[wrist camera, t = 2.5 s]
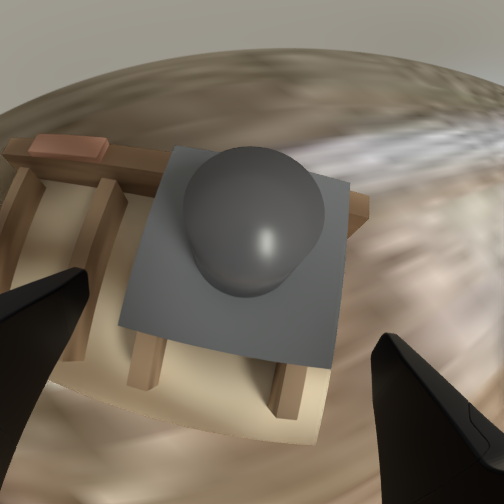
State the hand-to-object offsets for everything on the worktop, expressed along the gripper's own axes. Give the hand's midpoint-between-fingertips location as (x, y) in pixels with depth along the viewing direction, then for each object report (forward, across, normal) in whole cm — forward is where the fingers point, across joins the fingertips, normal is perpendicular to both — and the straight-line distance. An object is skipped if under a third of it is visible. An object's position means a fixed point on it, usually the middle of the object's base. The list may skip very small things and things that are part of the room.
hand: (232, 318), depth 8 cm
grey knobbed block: (+7, 0, +5) cm, 8 cm away
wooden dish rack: (+7, +6, +6) cm, 11 cm away
